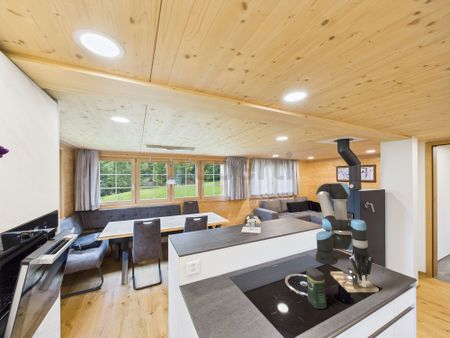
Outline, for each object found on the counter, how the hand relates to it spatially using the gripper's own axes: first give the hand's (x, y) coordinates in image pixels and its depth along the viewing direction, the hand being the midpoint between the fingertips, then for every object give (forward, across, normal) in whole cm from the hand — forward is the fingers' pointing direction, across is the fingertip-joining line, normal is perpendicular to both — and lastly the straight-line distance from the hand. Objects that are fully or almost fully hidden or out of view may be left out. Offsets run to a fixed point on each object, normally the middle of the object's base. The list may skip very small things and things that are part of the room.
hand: (363, 285), depth 109 cm
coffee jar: (+5, +31, +11) cm, 33 cm away
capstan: (+2, +2, -7) cm, 8 cm away
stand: (+5, 0, -11) cm, 12 cm away
